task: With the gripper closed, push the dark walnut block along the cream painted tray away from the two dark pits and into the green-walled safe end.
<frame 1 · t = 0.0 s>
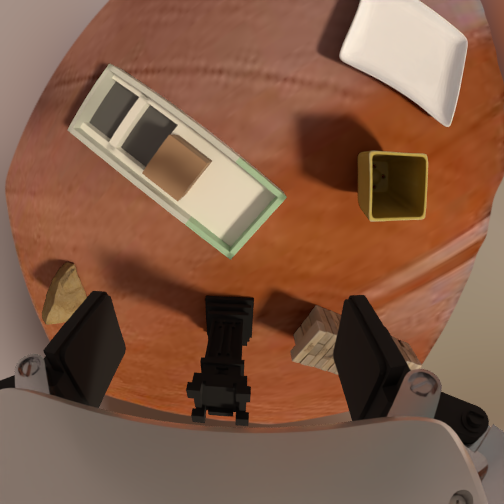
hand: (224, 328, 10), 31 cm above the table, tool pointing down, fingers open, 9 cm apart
flower pot: (372, 176, 38), on the table
walnut block: (182, 164, 36), point 2 cm above the table, touching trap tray
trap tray: (172, 153, 37), on the table
chess piece: (229, 315, 48), on the table
rock: (77, 286, 46), on the table
salad plate: (405, 47, 30), on the table
block tower: (357, 339, 51), on the table
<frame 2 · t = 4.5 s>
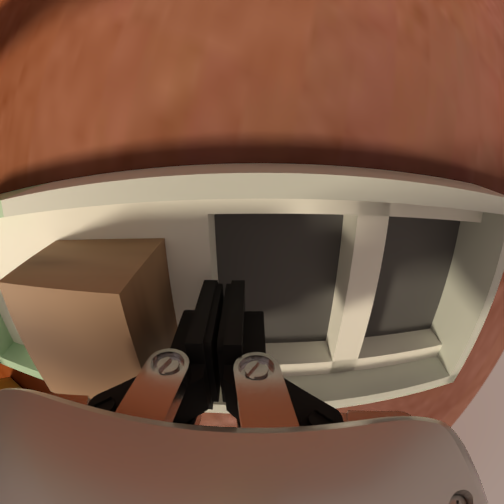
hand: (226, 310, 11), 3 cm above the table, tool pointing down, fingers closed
walnut block: (116, 297, 12), point 2 cm above the table, touching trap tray
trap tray: (190, 280, 14), on the table
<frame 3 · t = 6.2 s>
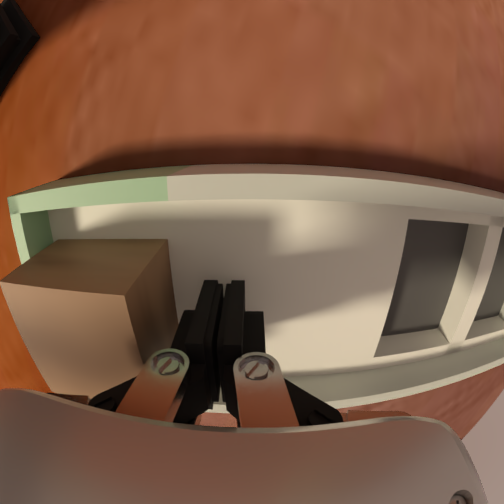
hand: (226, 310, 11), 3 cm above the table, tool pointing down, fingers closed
walnut block: (117, 297, 12), point 2 cm above the table, touching gripper, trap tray
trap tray: (352, 279, 14), on the table
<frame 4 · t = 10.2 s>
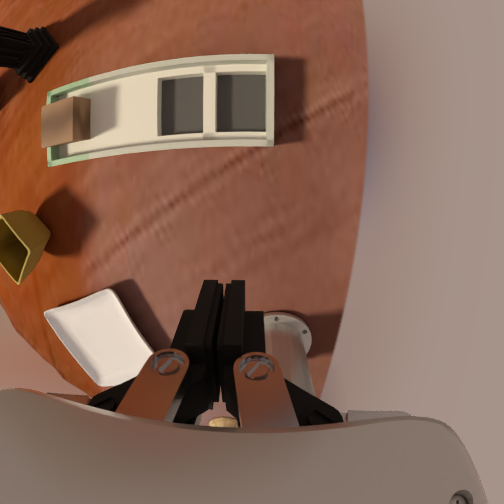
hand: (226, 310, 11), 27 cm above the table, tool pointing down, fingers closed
hand bell: (226, 424, 57), on the table
flower pot: (39, 231, 39), on the table
walnut block: (74, 122, 30), point 2 cm above the table, touching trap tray
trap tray: (151, 109, 32), on the table
chess piece: (37, 54, 26), on the table
salad plate: (108, 336, 47), on the table
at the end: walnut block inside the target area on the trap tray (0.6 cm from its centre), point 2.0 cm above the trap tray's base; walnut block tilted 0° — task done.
